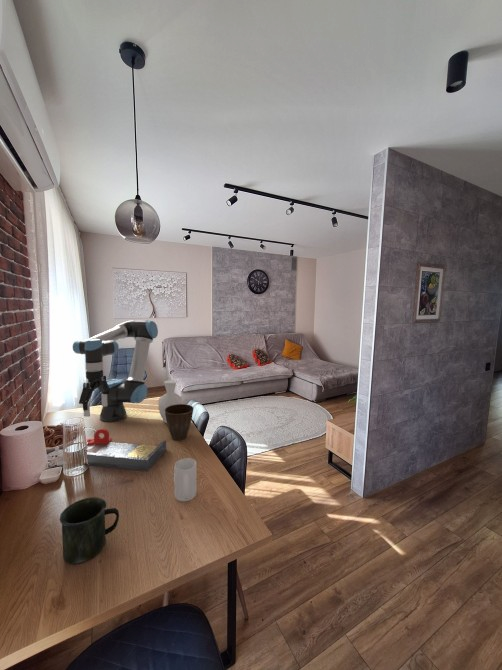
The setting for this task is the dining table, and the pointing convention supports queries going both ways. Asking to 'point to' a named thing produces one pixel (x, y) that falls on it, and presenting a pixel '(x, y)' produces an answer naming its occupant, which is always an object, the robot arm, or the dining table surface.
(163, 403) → the vase
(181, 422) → the plant pot
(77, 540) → the mug
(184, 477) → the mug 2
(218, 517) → the dining table surface
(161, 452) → the tray
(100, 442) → the bracket
